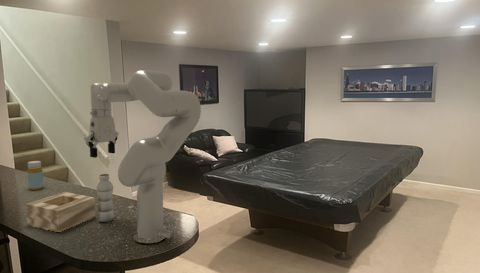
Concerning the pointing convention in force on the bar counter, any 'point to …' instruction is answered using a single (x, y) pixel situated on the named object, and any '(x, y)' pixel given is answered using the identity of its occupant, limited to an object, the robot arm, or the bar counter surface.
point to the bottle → (35, 175)
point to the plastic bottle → (105, 199)
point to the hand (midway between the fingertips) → (103, 155)
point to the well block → (60, 211)
